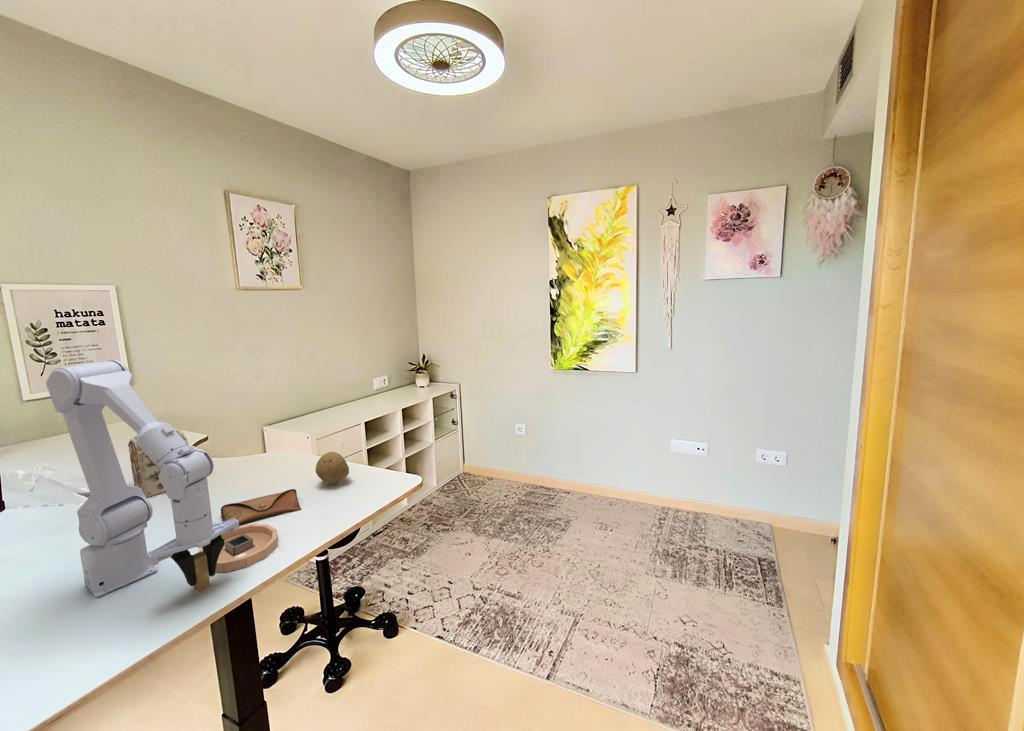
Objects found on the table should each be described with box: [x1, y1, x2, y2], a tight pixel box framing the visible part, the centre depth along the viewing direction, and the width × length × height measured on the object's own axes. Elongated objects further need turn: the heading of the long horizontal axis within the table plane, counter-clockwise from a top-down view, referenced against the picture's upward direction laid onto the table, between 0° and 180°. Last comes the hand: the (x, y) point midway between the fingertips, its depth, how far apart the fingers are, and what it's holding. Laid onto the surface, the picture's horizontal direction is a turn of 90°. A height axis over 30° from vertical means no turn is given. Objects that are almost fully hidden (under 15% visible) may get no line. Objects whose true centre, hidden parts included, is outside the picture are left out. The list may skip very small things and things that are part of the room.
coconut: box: [315, 451, 350, 486], centre depth 128 cm, size 9×9×10 cm
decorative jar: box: [127, 429, 189, 499], centre depth 125 cm, size 12×12×18 cm
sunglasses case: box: [220, 488, 302, 527], centre depth 112 cm, size 18×7×7 cm, turn 128°
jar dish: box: [197, 523, 279, 573], centre depth 95 cm, size 15×15×2 cm
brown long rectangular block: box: [191, 551, 211, 593], centre depth 83 cm, size 2×2×7 cm
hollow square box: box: [223, 534, 255, 557], centre depth 95 cm, size 5×5×2 cm
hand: (201, 578), depth 83 cm, fingers open, 3 cm apart
